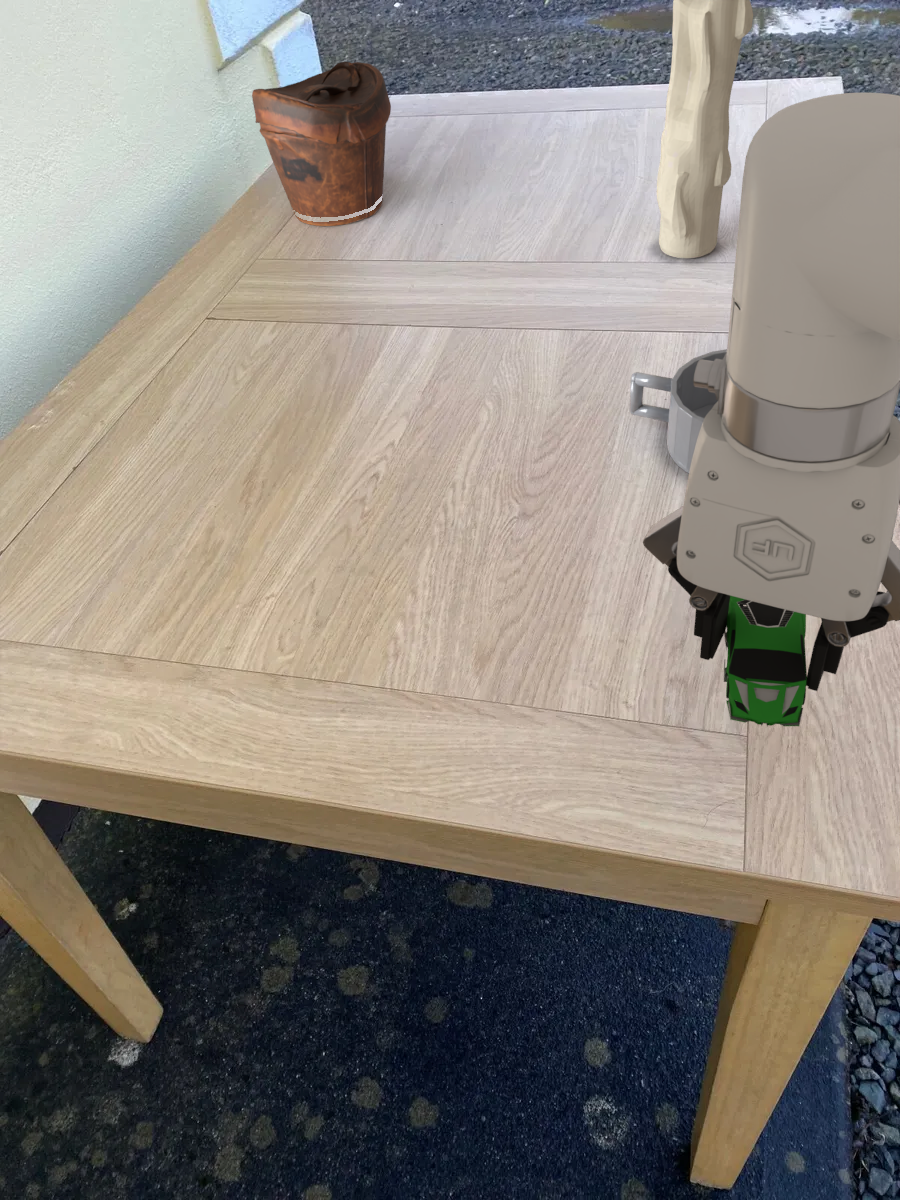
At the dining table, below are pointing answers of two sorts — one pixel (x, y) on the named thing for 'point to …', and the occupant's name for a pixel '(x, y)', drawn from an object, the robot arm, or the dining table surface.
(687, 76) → the dripping pillar candle
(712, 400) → the measuring cup
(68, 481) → the dining table surface
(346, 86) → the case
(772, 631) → the toy car
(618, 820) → the dining table surface
